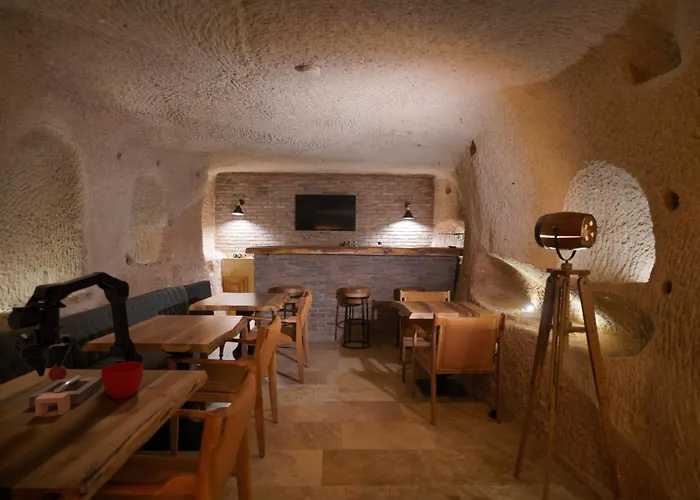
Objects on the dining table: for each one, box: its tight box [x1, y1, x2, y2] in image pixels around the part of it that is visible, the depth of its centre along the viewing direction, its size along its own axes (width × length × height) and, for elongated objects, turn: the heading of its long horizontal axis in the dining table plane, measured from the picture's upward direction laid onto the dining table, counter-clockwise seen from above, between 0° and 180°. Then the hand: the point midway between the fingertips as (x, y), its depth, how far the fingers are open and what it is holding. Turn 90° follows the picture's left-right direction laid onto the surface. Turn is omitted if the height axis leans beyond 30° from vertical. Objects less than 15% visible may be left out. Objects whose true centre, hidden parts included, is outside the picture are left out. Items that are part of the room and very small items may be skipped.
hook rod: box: [53, 374, 82, 393], centre depth 141 cm, size 2×14×2 cm, turn 8°
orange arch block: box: [34, 393, 71, 417], centre depth 128 cm, size 8×4×6 cm, turn 98°
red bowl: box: [100, 362, 144, 400], centre depth 144 cm, size 13×17×10 cm
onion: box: [47, 363, 68, 382], centre depth 155 cm, size 6×6×8 cm
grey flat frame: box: [28, 376, 103, 408], centre depth 141 cm, size 15×16×4 cm
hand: (50, 371), depth 129 cm, fingers open, 9 cm apart
